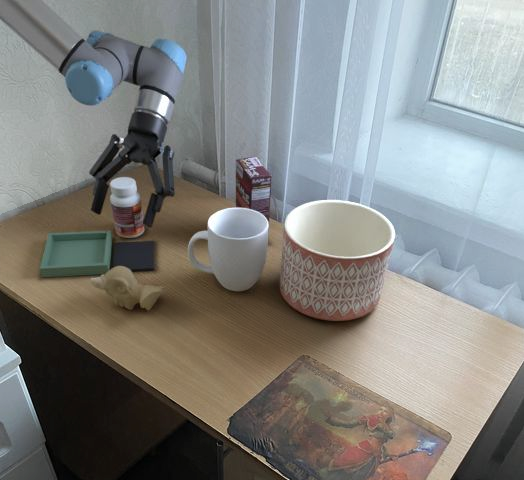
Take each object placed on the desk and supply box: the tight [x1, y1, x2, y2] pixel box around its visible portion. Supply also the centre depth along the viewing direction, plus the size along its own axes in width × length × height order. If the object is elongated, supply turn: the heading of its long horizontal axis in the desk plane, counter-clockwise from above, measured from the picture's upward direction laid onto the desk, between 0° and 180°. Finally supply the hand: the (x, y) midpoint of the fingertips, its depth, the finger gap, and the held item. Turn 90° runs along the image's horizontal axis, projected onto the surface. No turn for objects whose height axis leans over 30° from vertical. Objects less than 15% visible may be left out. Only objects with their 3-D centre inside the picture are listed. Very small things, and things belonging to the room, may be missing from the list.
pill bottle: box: [109, 176, 145, 239], centre depth 112 cm, size 6×6×11 cm
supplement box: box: [235, 156, 273, 234], centre depth 111 cm, size 9×5×16 cm, turn 22°
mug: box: [187, 207, 269, 292], centre depth 100 cm, size 15×11×13 cm
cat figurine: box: [90, 266, 165, 311], centre depth 96 cm, size 8×7×12 cm
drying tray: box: [39, 230, 113, 278], centre depth 108 cm, size 13×13×2 cm
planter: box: [279, 199, 396, 322], centre depth 98 cm, size 19×19×15 cm
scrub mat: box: [112, 240, 155, 273], centre depth 109 cm, size 10×8×1 cm
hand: (120, 219), depth 111 cm, fingers open, 12 cm apart
